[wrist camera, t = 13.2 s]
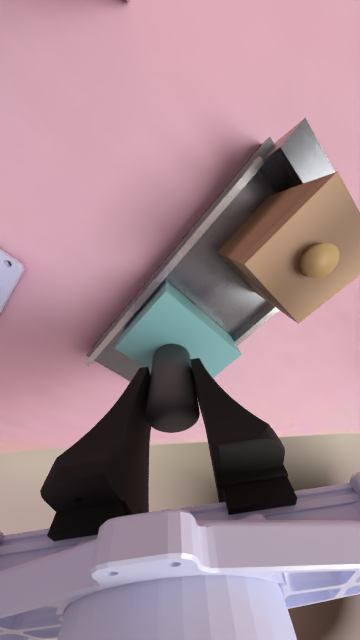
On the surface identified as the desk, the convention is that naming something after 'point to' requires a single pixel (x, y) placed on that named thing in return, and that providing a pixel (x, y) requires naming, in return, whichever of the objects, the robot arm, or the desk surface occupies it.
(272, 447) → the robot arm
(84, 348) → the desk surface
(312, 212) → the wooden block with knob
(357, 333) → the desk surface
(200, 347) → the ram
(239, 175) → the tray
